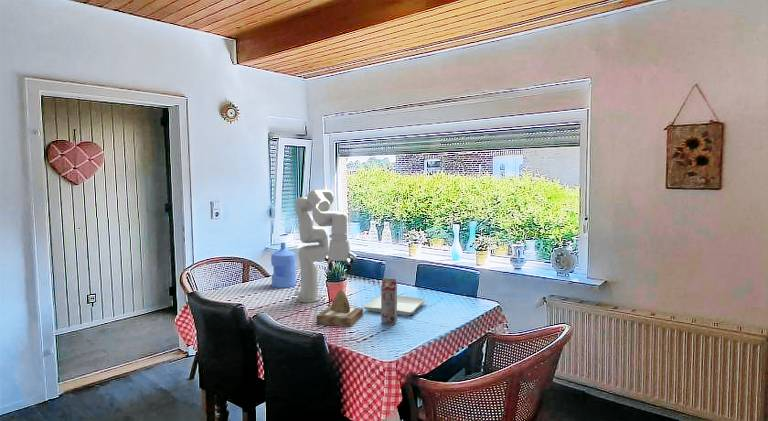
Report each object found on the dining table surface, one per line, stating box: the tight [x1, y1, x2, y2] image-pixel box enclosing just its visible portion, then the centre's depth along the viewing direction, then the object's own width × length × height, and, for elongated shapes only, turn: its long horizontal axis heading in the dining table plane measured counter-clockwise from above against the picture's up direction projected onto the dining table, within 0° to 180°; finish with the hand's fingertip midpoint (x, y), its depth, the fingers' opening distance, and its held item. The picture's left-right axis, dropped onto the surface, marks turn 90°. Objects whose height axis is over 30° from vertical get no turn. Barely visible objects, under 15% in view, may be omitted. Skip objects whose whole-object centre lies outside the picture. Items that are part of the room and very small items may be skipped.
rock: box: [330, 289, 351, 312], centre depth 241 cm, size 11×9×10 cm
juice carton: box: [380, 277, 398, 326], centre depth 235 cm, size 7×7×22 cm
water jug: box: [270, 242, 297, 289], centre depth 313 cm, size 16×16×28 cm
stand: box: [315, 305, 364, 327], centre depth 241 cm, size 18×18×4 cm
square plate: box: [363, 295, 427, 316], centre depth 261 cm, size 27×27×4 cm
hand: (339, 271), depth 241 cm, fingers open, 9 cm apart
